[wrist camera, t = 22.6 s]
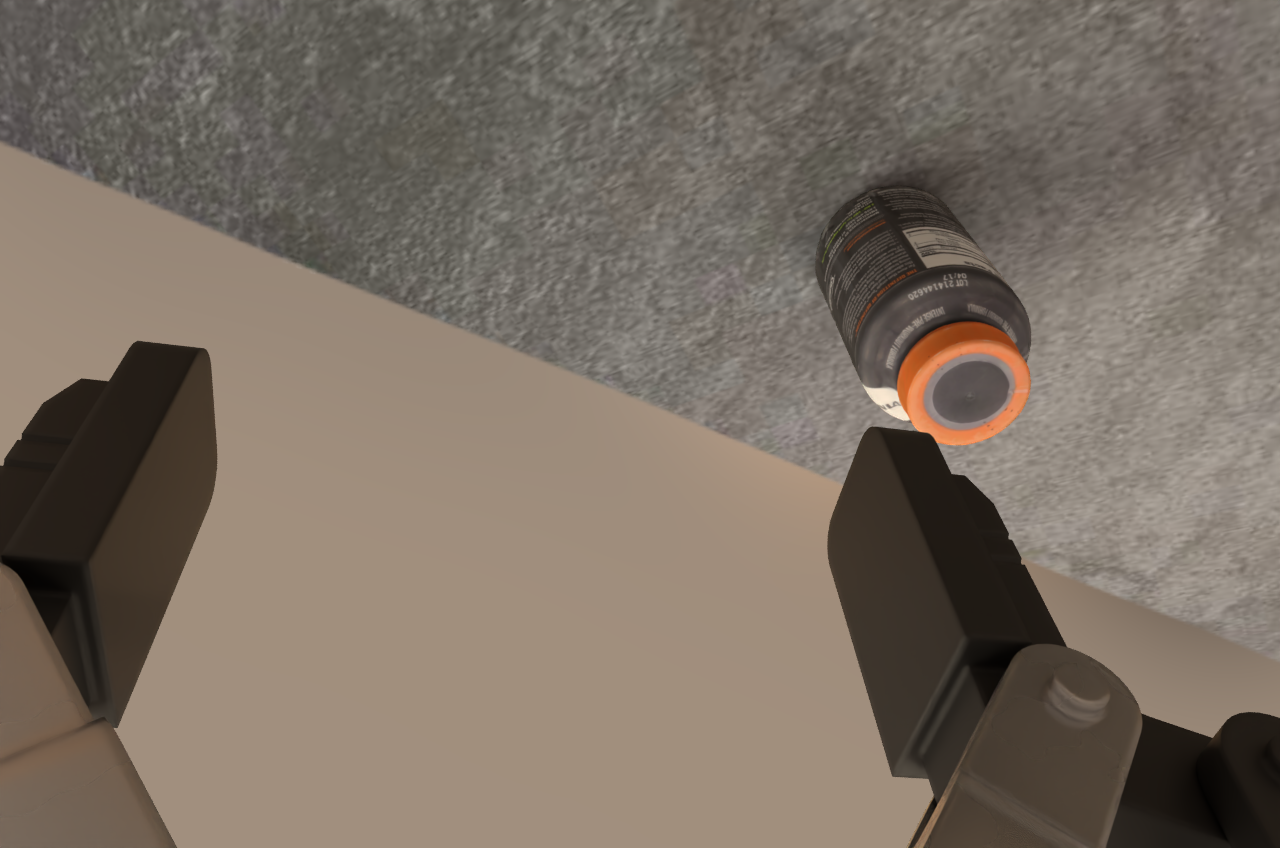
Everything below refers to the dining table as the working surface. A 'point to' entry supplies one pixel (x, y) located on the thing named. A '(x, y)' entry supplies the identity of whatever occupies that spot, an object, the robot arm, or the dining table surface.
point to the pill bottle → (925, 315)
